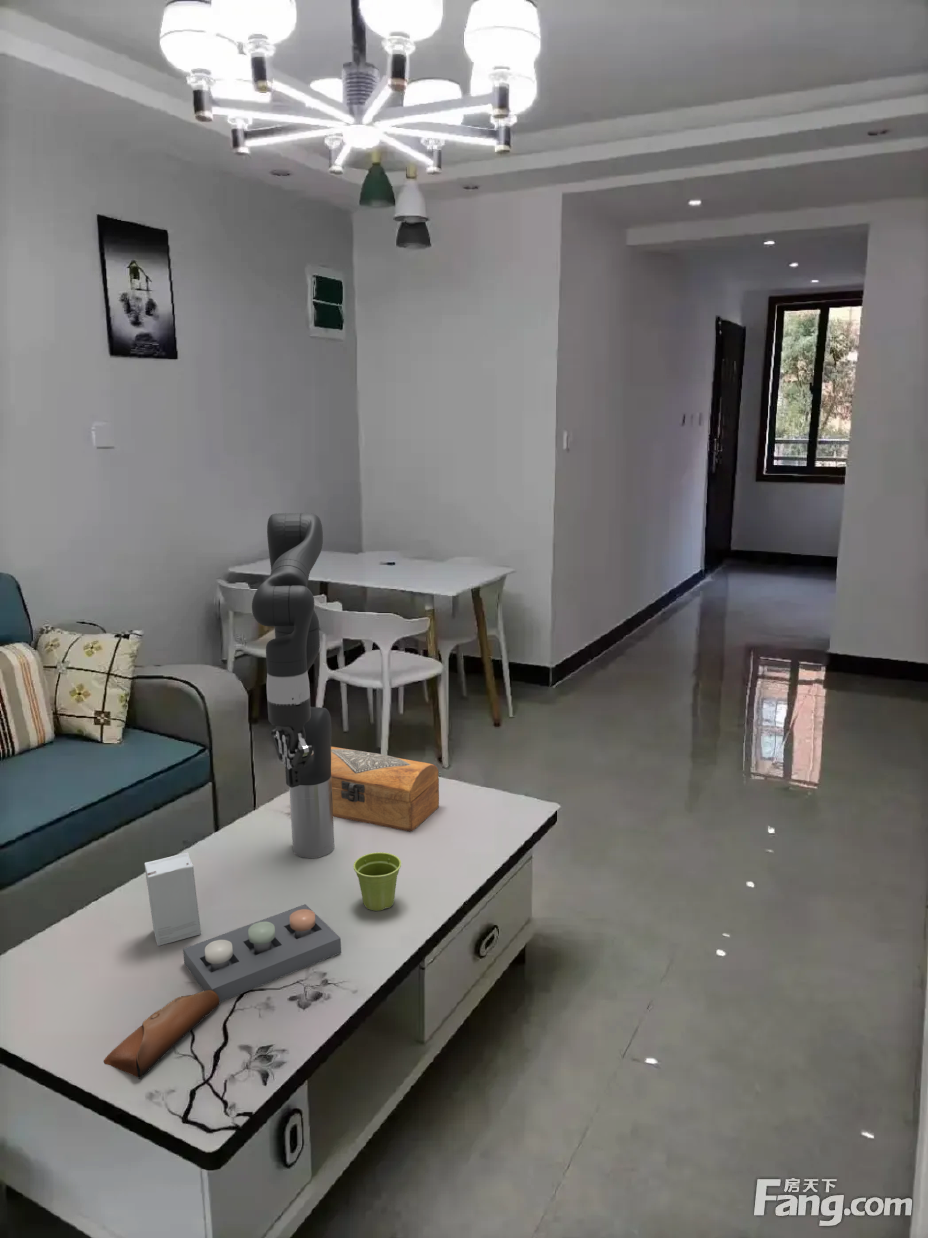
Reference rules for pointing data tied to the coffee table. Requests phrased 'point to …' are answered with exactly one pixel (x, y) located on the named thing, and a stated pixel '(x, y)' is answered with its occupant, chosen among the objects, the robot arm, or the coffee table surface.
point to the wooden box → (382, 789)
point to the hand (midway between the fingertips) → (293, 785)
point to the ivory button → (218, 954)
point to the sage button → (261, 936)
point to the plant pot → (377, 879)
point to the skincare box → (173, 898)
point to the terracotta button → (302, 922)
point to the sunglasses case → (161, 1033)
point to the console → (261, 956)
